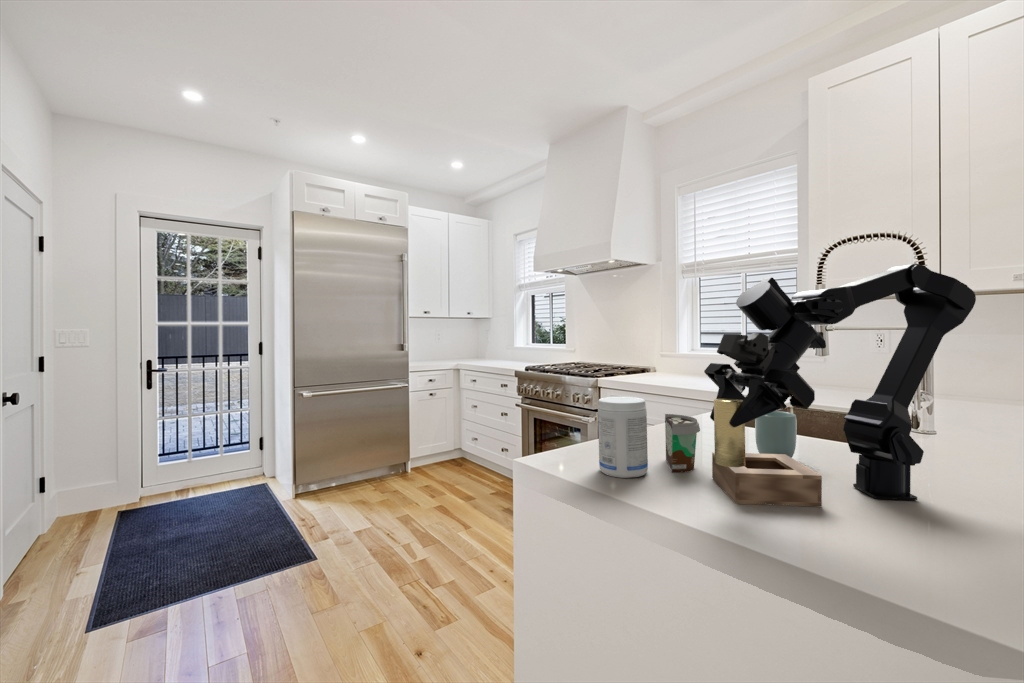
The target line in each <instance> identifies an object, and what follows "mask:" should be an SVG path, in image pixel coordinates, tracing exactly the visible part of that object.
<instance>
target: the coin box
mask: <svg viewBox="0 0 1024 683" xmlns="http://www.w3.org/2000/svg"><path fill="white" fill-rule="evenodd" d="M711 455H712V456H711V460H712V461H711V462H712V464H711V466H712V467H711V472H712V474H711V478H713V479H712V480H713V481H714V482H715V483H716V484H717V485H718V487H720V488H721V489H722V491H723V490H724V491H725V492H726V493H725V492H724V491H723V492H724V493H725V494H726V495H727V497H729V498H730V499H731V500H732V501H733V503H734V504H737V503H739V505H740V504H743V505H744V504H745V505H762V504H772V505H771V506H788V505H796V506H795V507H813V506H822V504H823V501H822V500H823V497H822V496H823V495H822V494H823V493H822V492H823V491H822V489H823V485H822V484H823V482H822V481H823V480H822V479H823V476H822V474H820V473H818V472H816V471H814V470H813V469H811V468H809V466H806V465H804V464H803V463H801V462H800V461H798V460H796V459H794V458H793V457H792V458H791V457H789V456H787V455H786V454H759V453H754V452H753V453H750V452H749V453H746V452H745V466H743V467H726V466H721V465H718V464H716V463H715V451H714V452H712V453H711ZM773 504H774V505H773ZM797 505H798V506H797Z"/></svg>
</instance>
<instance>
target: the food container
mask: <svg viewBox="0 0 1024 683" xmlns="http://www.w3.org/2000/svg"><path fill="white" fill-rule="evenodd" d="M664 423H665V424H664V427H665V428H664V432H665V461H666V463H667V465H668V467H669V469H670V471H671V472H670V473H673V474H674V473H675V474H680V473H681V474H683V473H688V472H692V471H694V469H695V464H696V463H695V462H696V461H695V460H696V449H697V448H696V447H697V435H698V434H697V433H700V432H701V428H700V423H699V421H698V419H697V418H695V417H693V416H689V415H683V414H677V413H676V414H674V413H664Z"/></svg>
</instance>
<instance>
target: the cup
mask: <svg viewBox="0 0 1024 683" xmlns="http://www.w3.org/2000/svg"><path fill="white" fill-rule="evenodd" d="M754 422H755V423H754V427H755V428H754V431H755V433H754V434H755V444H756V450H757V452H758V454H786V455H787V456H789V457H791V458H792V459H793V457H794V454H795V451H796V447H797V432H798V430H797V427H798V425H797V423H798V422H797V415H796V414H795V413H793V412H787V411H779V410H776V411H774V412H771V413H768V414H766V415H763V416H760V417H758V418H756V419H754Z"/></svg>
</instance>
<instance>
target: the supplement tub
mask: <svg viewBox="0 0 1024 683" xmlns="http://www.w3.org/2000/svg"><path fill="white" fill-rule="evenodd" d="M597 401H598V405H597V424H598V425H597V426H598V428H597V429H598V430H597V431H598V463H599V464H598V466H599V470H600V472H602V474H605V475H607V476H611V477H613V478H621V479H629V478H638V477H639V478H640V477H642V476H644V475H645V474H647V472H648V470H649V464H648V463H649V460H648V459H649V458H648V456H649V455H648V420H647V419H648V418H647V417H648V416H647V404H646V399H644V398H641V397H635V396H608V397H607V396H605V397H602V398H599V399H598V400H597Z"/></svg>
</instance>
